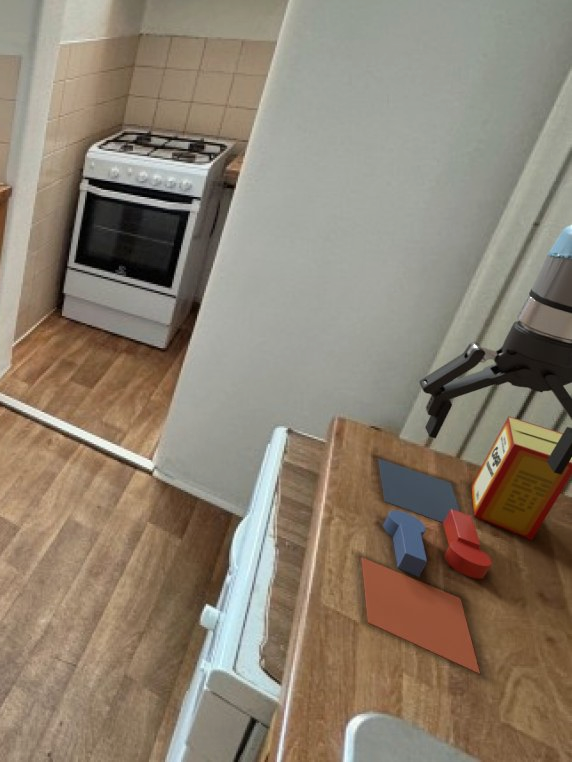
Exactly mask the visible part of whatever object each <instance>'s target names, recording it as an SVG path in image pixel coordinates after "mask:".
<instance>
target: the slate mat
mask: <svg viewBox="0 0 572 762" xmlns="http://www.w3.org/2000/svg"><path fill="white" fill-rule="evenodd" d="M377 462H378V469H379V475H380V481H381V487H382V493H383V500H384V502H385V503H388V504H390V505H393V506H395V507H399V508H401V509H404V510H406V511H408V512H412V513H413V514H417V515H420V516H423V517H425V518H427V519H431V520H434V521H436V522H439V523H442V524H443V523H444V521H445V519H446V517H447V515H448V513H449V512H450V510H451V509H453V510H456V511H458V512H461V509H460V507H459V504H458V500H457V497H456V494H455V490H454V488H453V484H452V482H449V481H446V480H444V479H440V478H437V477H434V476H432V475H429V474H426V473H423V472H420V471H416V470H414V469H411V468H407V467H405V466H401V465H399V464H397V463H393V462H390V461H387V460H384V459H381V458H377Z"/></svg>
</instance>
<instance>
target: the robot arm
mask: <svg viewBox="0 0 572 762" xmlns="http://www.w3.org/2000/svg"><path fill="white" fill-rule="evenodd" d="M516 319H517V321H514V322H513V323H512V325H511V327H510V330H509V331H508V332H507V333H508V334H507V335H506V337H505V339H504V342H503V344H502V346H501V347H500V348H498V349H497V350H493V349H489V348H487V347H486V348H485V347H483V346H481V344H480V343H478V342H470V343H469V344H468V345H467V347H466V348H465V349H464V351H463V352H462V353H461V354H459V355H458V356H457V357H455V358H453V359H452V360H450V361H448V362H447V363H446V364H444V365H442V366H441V367H439V368H437V369H436V370H434V371H432V372H431V373H429V374H428V375H426V376H425V377H423V378H421V379H420V380H419V385H420V387H421V389H422V391H423V392H424V393H425V394H429V395H430V397H429V400H428V402H427V404H426V406H425V411H426V413H427V415H428V416H429V418H428V420H427V422H426V425H425V426H424V428H425V430H426V433H427V434H428V437H429V438H433V439H437V437H438V435H439V433H440V431H441V429H442V427H443V425H444V423H445V420H446V418H447V416H448V415H449V413H450V410H451V408H452V407H453V403H452V401H451V400H452V399H455V398H458V397H461V396H464V395H467V394H470V393H473V392H476V391H479V390H483V389H485V388H488V387H491V386H494V385H495V386H501V385H503V384H506V383H508V384H511V386H513V387H514V386H515V387H517V388H525V389H530V390H533V391H534V392H539V393H543V392H550V391H551V392H552V394H553V395H554V396H555V398H556V399H557V401H558V402H559V404H560V406H561V407H562V408H563V410H564V411H565V413H566V415H567V416H568V417H569V419H570V420H571V421H572V397H571V395H570V394H569V392H568V391H567V389H566V388H565V387H564V386H567V385H569V384H572V224H570V225H568V226H566V227H564V228H563V229H562V231H561V232H560V234H559V236H558V238H557V239H556V241H555V242H554V244H553V246H552V247H551V249H550V250H549V251H548V252H547V255H546V258H545V260H544V262H543V263H542V266H541V268H540V270H539V271H538V274H537V276H536V278H535V281H534V282H533V284H532V287H531V289H530V290H529V293H528V295H527V297H526V298H525V300H524V302H523V305H522V306H521V308H520V310H519V312H518V314H517V316H516ZM489 360H493V361H494V364H491V365H487V366H485V367H484V368H483V369H482V370H479V371H476V372H474V373H471V374H467V375H465V376H463V375H464V374H466V373H468V372H469V371H471V370H472V369H474V368H475V367H477V366H478V365H479V364H480V363H481V364H483V363H486V361H489ZM562 433H563V434H562V436H561V438H560V439H559V441H558V443H557V445H556V446H555V448H554V450H553V451H552V453H551V455H550V456H549V458H548V460H547V463H548V464H549V466H550V467H551V469H552V470H553V472H554V473H557V474H562V473H563V471H564V470H565V468H566V466H567V465H568V463H569V461H570V460H571V458H572V427H570V426H566V427H565V429H564V431H563V432H562Z"/></svg>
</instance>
